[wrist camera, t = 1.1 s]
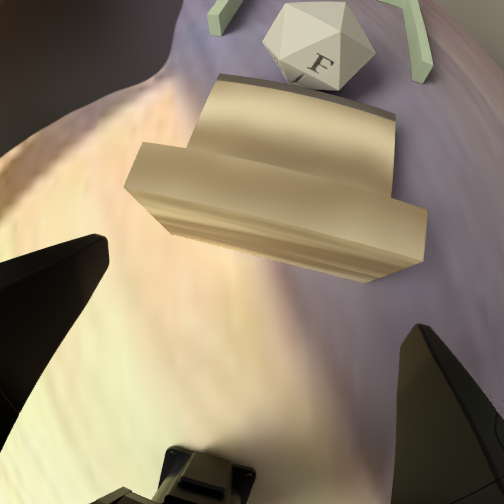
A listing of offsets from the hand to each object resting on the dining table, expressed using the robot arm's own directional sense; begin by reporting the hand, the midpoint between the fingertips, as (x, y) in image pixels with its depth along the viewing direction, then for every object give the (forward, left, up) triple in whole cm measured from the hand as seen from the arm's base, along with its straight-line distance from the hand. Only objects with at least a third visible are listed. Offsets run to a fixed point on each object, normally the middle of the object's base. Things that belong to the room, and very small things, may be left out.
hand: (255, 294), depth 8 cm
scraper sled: (+9, 0, -13) cm, 16 cm away
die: (+21, 0, -13) cm, 24 cm away
